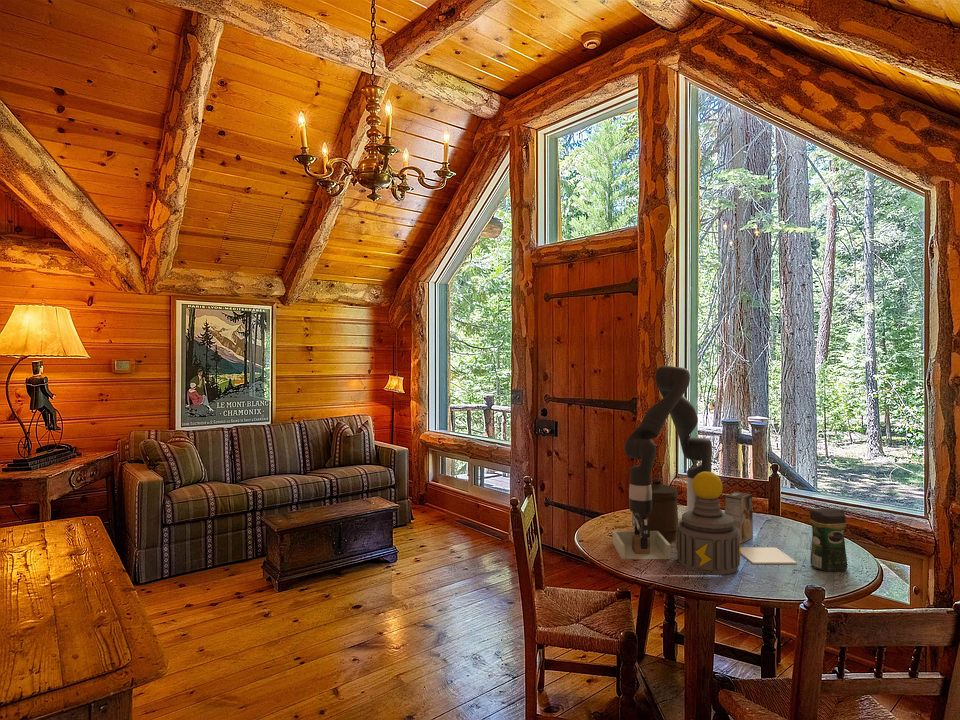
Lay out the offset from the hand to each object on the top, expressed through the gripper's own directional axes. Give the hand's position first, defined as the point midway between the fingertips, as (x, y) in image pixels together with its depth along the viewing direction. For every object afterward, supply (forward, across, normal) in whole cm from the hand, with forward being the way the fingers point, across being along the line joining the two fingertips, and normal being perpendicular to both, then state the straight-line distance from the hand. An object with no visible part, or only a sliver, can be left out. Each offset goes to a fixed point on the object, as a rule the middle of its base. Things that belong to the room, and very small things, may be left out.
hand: (640, 544), depth 192 cm
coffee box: (+3, +15, -39) cm, 42 cm away
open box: (+3, 0, 0) cm, 3 cm away
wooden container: (+3, +17, -10) cm, 20 cm away
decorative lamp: (+3, -11, -19) cm, 22 cm away
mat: (+3, -3, -40) cm, 40 cm away
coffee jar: (+3, -13, -55) cm, 57 cm away
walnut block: (+2, 0, 0) cm, 2 cm away
